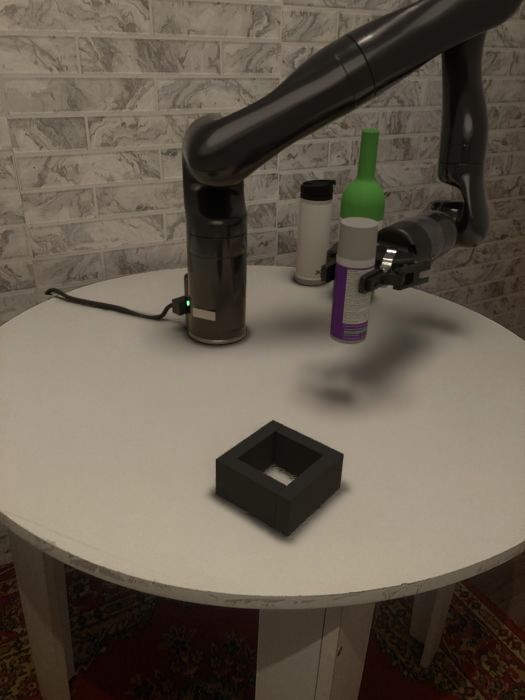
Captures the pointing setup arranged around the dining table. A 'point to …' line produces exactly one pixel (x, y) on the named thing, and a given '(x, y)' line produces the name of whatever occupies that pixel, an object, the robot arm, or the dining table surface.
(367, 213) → the wine bottle
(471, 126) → the robot arm
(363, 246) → the container
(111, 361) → the dining table surface
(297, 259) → the travel mug
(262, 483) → the black square frame
